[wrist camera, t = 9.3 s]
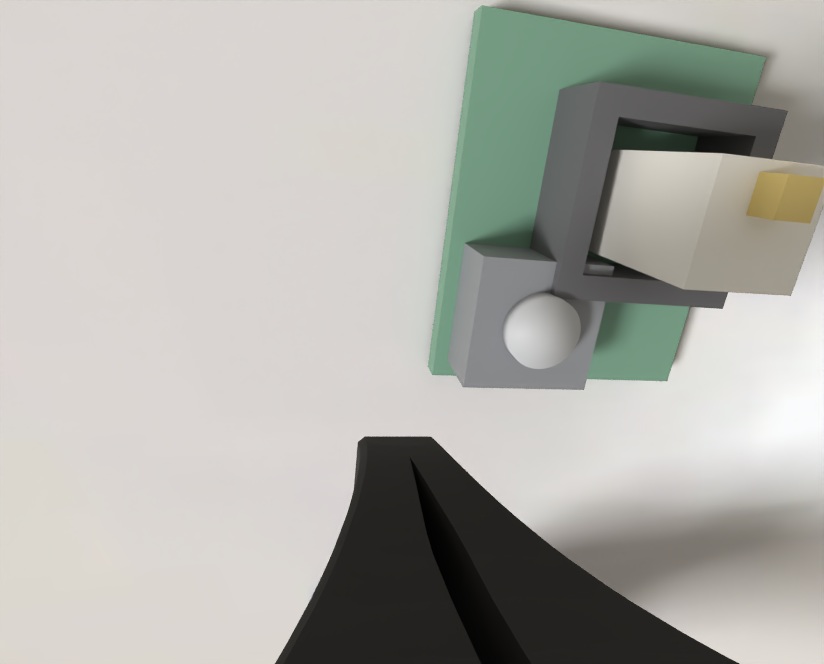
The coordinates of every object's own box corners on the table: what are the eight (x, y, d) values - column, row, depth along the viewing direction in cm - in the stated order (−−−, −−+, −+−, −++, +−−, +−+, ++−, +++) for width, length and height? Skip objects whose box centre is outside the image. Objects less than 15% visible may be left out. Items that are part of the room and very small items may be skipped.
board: (654, 372, 22) (716, 414, 18) (427, 366, 20) (450, 411, 16) (747, 60, 18) (846, 42, 14) (474, 11, 16) (516, -23, 12)
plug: (650, 249, 19) (818, 305, 12) (571, 243, 18) (706, 298, 12) (674, 158, 18) (871, 169, 11) (591, 149, 17) (751, 154, 11)
